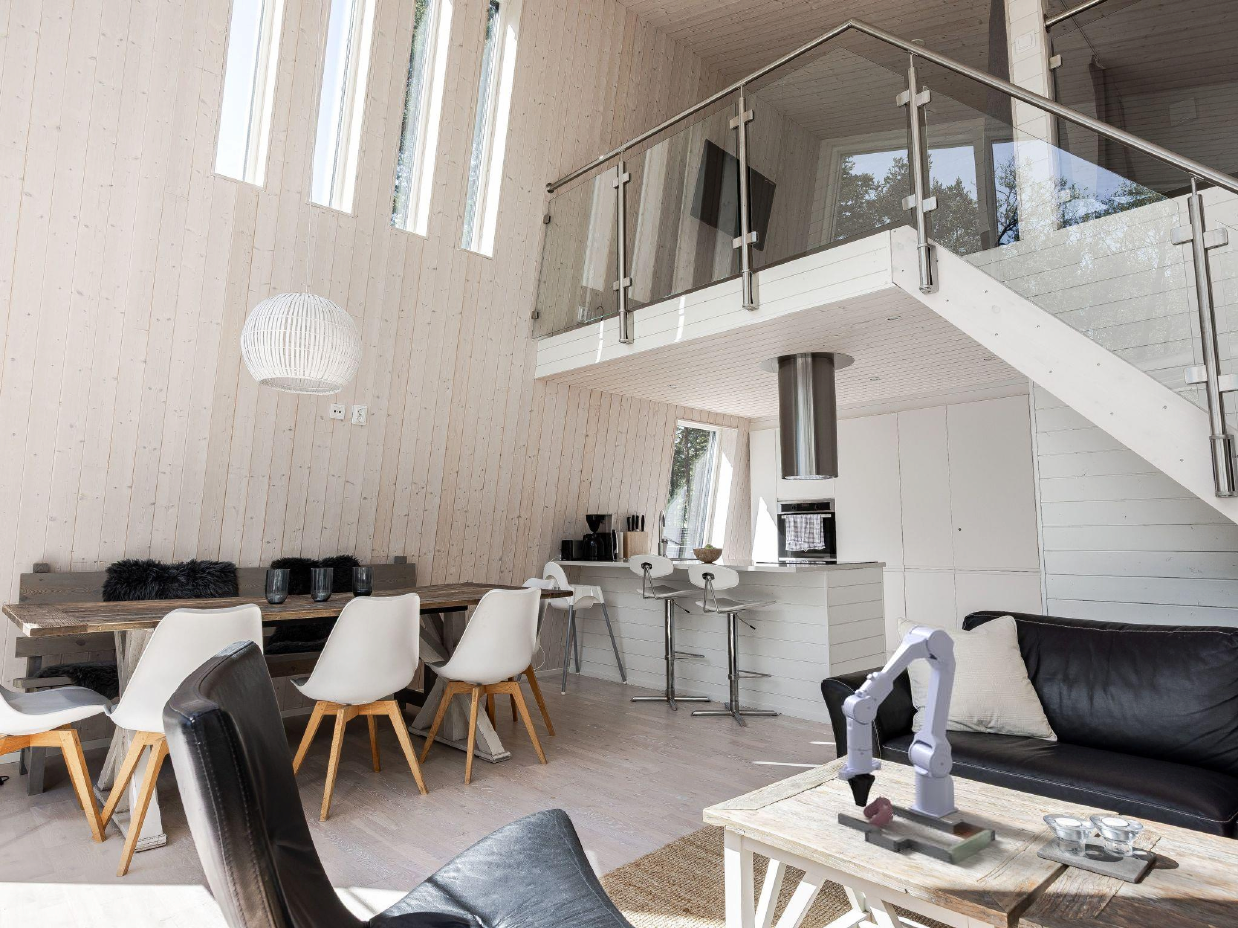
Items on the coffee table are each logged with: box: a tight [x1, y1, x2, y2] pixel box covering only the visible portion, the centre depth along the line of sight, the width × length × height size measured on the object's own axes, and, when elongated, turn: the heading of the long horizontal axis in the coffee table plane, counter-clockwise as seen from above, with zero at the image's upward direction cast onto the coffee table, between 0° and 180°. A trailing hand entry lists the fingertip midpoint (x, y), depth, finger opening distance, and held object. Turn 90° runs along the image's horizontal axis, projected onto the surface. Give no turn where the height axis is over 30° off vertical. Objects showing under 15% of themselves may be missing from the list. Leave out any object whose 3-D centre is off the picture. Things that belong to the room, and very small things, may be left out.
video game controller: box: [862, 795, 894, 828], centre depth 178 cm, size 10×5×7 cm, turn 168°
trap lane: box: [837, 803, 996, 865], centre depth 172 cm, size 24×28×3 cm
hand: (860, 805), depth 182 cm, fingers closed
